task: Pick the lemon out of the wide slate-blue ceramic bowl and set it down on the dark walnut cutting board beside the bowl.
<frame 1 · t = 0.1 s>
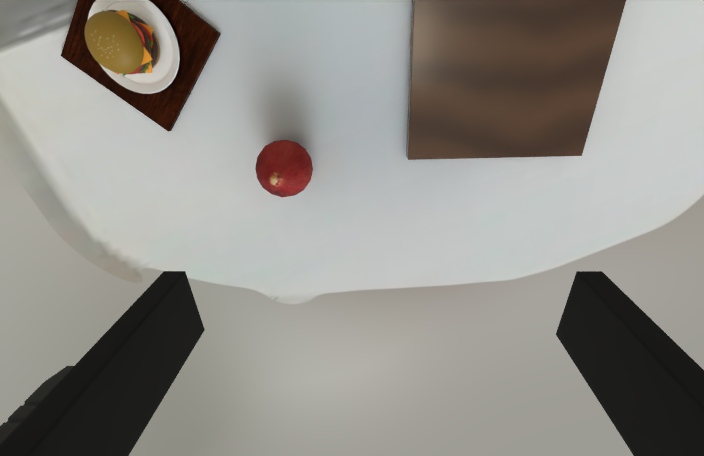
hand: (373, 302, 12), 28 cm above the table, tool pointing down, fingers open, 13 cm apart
board: (501, 74, 33), on the table
onion: (292, 158, 38), on the table
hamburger: (141, 45, 34), on the table
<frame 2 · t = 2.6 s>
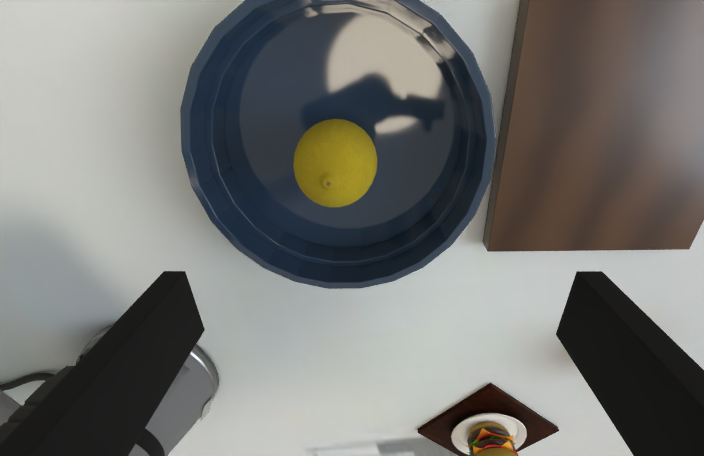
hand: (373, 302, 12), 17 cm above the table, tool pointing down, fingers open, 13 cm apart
bowl: (341, 146, 26), on the table
board: (608, 137, 25), on the table
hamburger: (485, 426, 42), on the table
lemon: (341, 146, 26), resting on bowl
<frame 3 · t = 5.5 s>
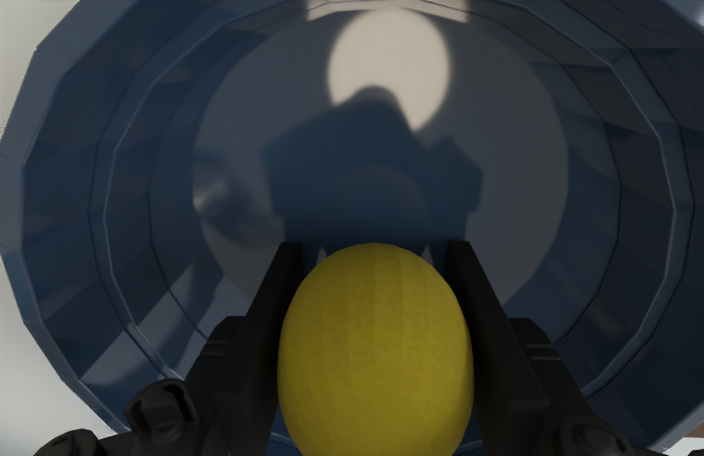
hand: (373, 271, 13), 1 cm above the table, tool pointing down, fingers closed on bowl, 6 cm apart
bowl: (373, 261, 14), on the table
lemon: (373, 264, 14), resting on bowl
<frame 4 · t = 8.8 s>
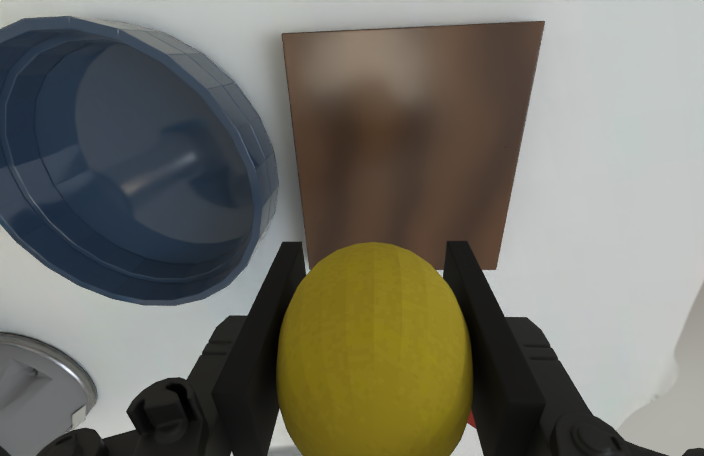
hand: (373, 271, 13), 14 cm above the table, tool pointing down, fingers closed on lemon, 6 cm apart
bowl: (156, 168, 27), on the table
board: (403, 163, 26), on the table
lemon: (373, 264, 14), point 14 cm above the table, touching gripper
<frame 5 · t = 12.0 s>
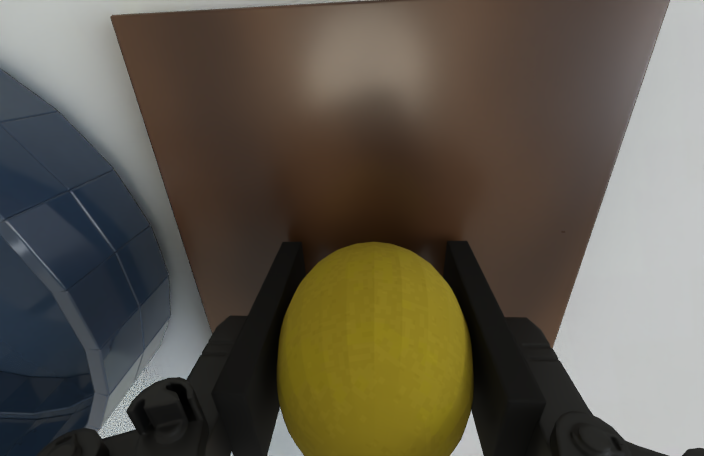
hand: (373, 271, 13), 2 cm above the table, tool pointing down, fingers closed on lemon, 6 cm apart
board: (376, 245, 15), on the table
lemon: (373, 263, 14), point 1 cm above the table, touching gripper
when the fingers open (2 cm above the table, at t = 15.6 s): lemon stays where it is, resting on board.
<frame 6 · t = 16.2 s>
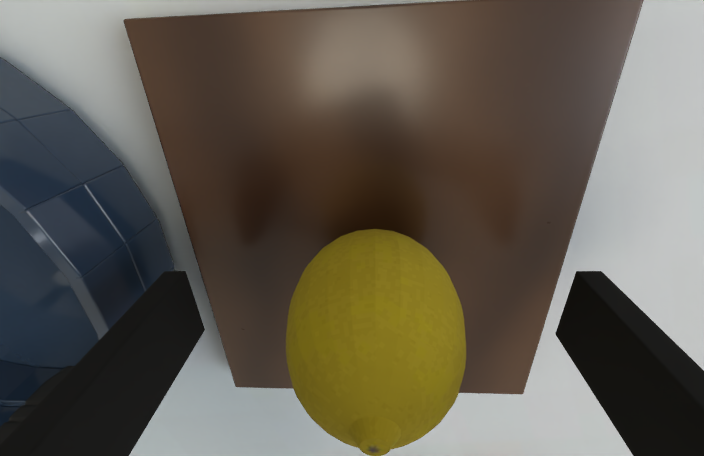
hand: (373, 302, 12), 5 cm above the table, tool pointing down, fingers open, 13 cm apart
board: (373, 237, 16), on the table
lemon: (374, 252, 15), point 1 cm above the table, touching board
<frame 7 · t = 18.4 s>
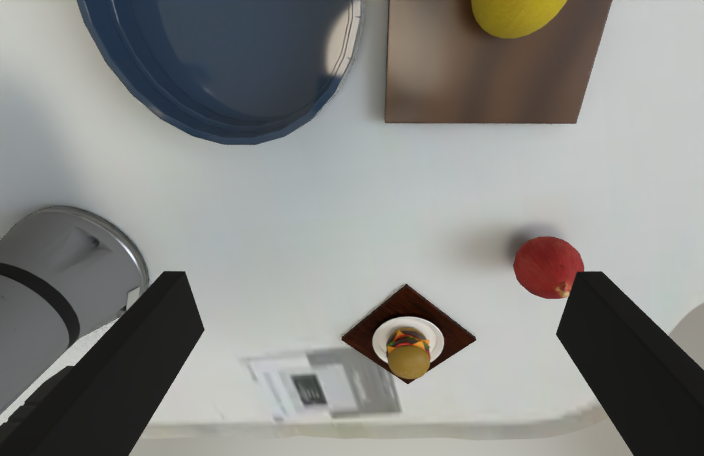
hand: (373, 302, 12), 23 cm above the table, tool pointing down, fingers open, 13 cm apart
bowl: (241, 6, 27), on the table
onion: (531, 246, 36), on the table
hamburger: (407, 336, 43), on the table
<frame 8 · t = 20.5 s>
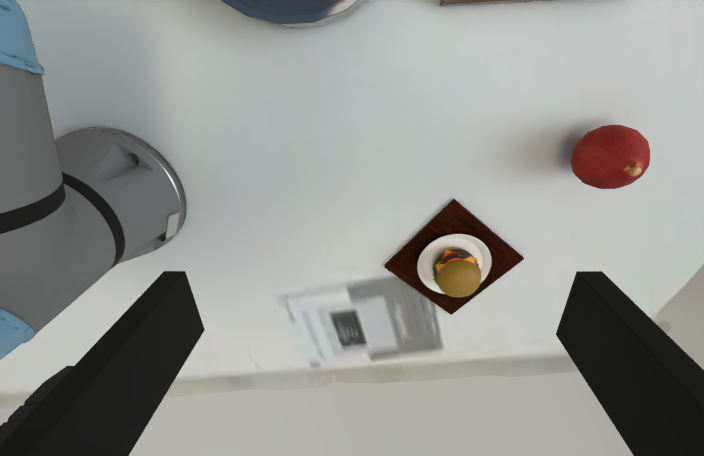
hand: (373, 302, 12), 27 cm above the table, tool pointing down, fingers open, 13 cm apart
onion: (585, 147, 35), on the table
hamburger: (451, 260, 42), on the table
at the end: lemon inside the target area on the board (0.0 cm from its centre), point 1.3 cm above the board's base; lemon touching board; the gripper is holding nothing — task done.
